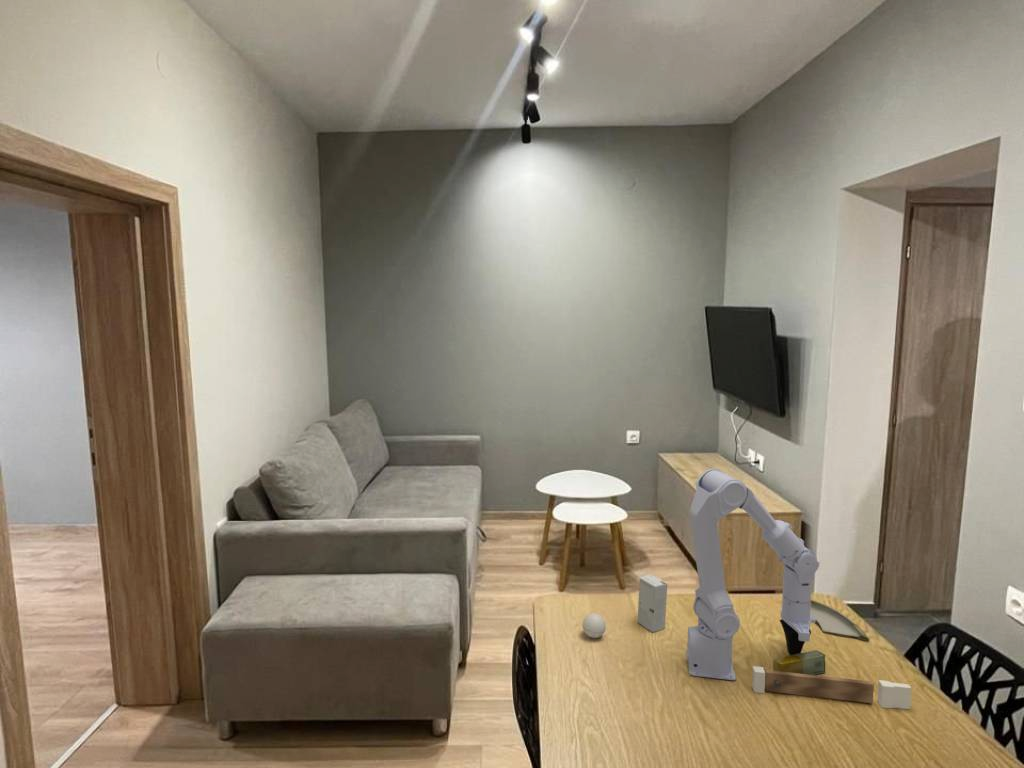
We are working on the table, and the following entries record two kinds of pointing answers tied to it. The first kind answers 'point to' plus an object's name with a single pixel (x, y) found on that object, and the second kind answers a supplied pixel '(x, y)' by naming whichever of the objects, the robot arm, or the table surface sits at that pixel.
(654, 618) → the skincare box
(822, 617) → the ceramic fragment
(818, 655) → the medication box
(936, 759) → the table surface
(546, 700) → the table surface
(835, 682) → the brown wooden plank
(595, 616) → the white ball
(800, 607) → the robot arm
